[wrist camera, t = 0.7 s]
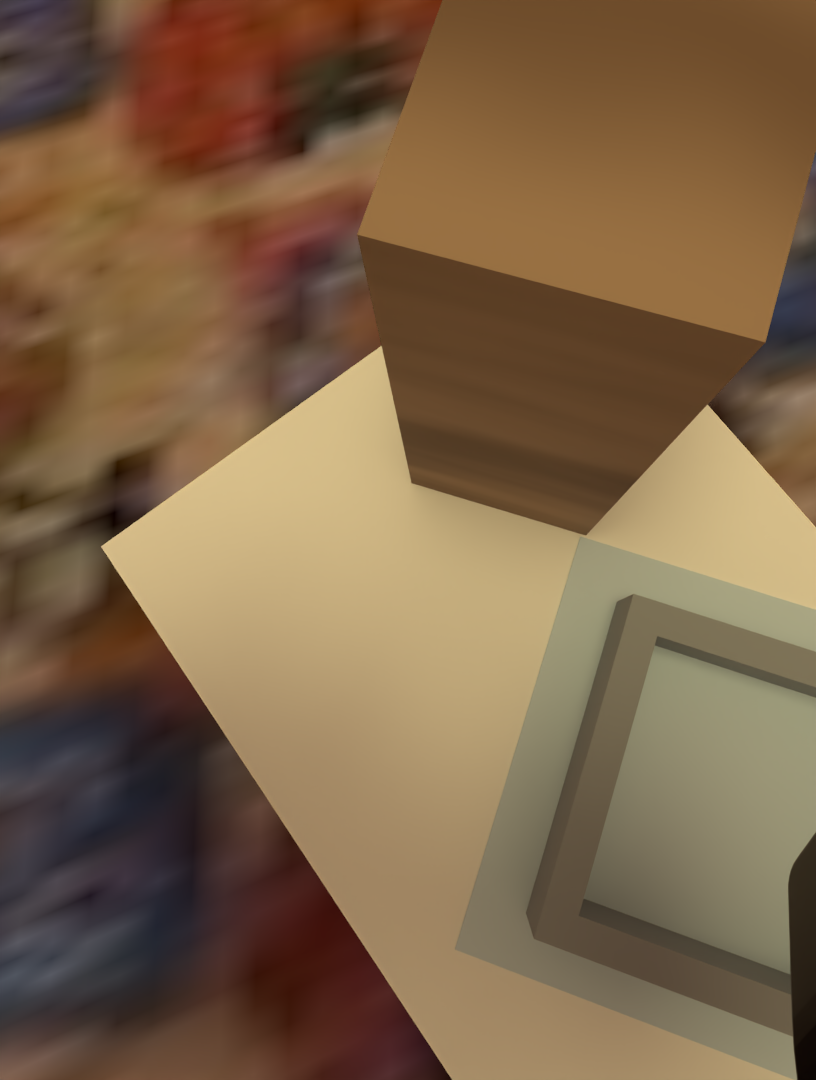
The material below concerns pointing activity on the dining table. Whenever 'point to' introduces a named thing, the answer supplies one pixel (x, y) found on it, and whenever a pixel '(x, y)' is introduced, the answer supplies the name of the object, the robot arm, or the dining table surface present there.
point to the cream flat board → (517, 732)
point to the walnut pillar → (583, 235)
